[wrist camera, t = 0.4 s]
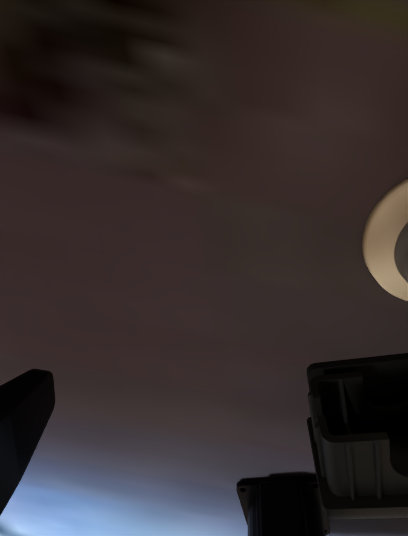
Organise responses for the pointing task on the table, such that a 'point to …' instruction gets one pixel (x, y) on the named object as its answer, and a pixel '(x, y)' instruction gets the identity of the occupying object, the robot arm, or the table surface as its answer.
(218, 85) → the table surface
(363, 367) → the end cap
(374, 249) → the bobbin
